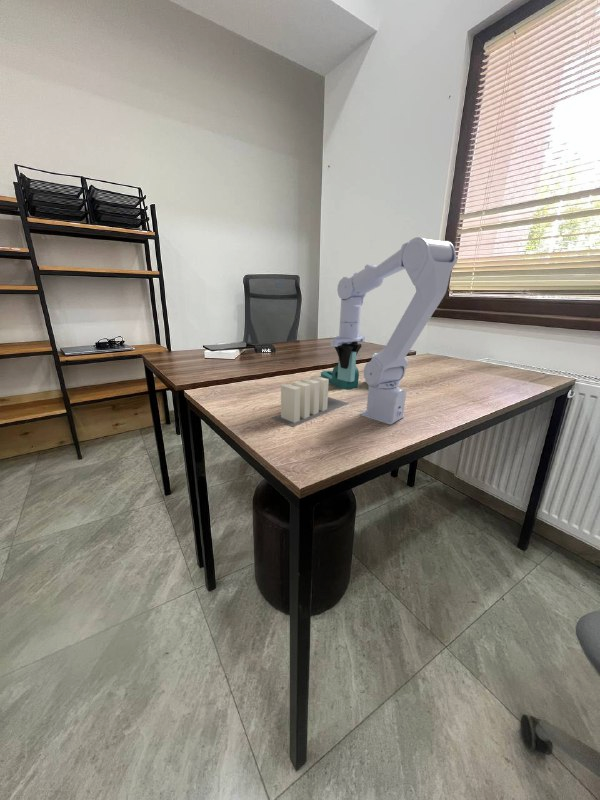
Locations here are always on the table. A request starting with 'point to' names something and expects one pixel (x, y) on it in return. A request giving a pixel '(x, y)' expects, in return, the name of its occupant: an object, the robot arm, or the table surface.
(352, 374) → the tile
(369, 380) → the robot arm
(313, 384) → the tile
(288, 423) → the mat
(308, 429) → the table surface
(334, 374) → the bracket
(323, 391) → the tile
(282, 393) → the tile
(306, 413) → the tile
